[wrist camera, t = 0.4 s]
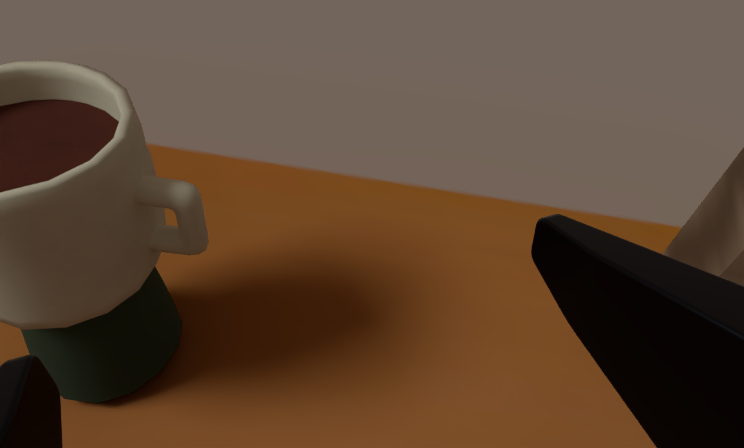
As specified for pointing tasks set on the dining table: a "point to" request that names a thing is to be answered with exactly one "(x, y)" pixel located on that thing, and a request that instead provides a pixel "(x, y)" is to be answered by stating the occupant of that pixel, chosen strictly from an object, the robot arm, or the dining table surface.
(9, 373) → the robot arm
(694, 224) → the walnut stylus post
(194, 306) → the dining table surface
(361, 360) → the dining table surface
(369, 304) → the dining table surface
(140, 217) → the character mug
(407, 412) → the dining table surface
